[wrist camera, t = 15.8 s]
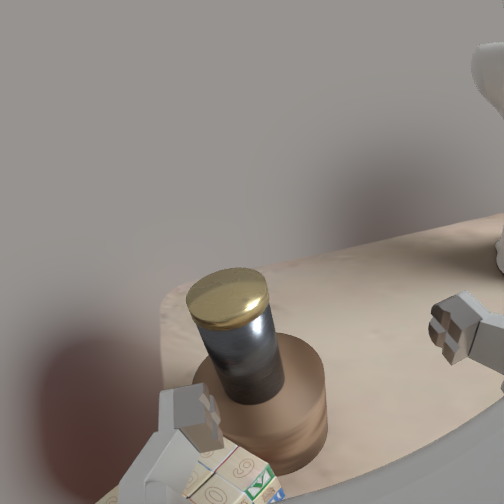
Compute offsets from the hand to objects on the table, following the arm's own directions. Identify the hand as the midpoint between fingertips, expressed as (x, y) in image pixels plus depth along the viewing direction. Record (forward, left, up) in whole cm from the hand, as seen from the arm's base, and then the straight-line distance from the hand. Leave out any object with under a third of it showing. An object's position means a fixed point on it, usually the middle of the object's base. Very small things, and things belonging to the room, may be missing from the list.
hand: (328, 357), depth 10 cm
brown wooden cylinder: (+3, -12, -24) cm, 27 cm away
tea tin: (+3, -12, -14) cm, 19 cm away
